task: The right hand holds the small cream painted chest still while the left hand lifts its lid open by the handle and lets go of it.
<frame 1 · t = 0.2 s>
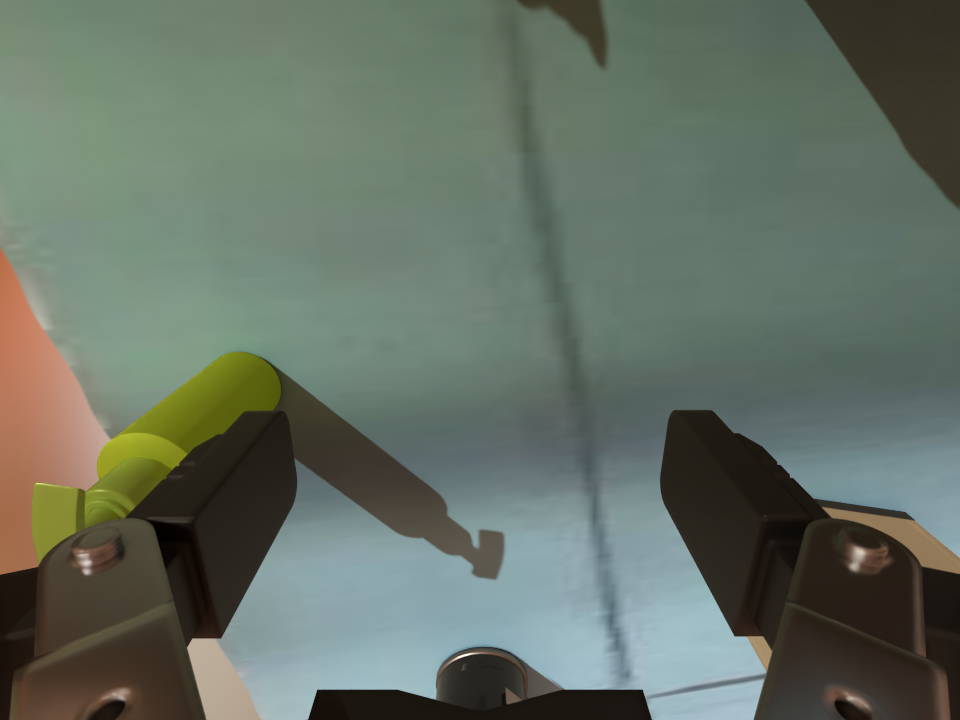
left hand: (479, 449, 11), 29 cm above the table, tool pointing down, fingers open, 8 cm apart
soap dispenser: (245, 378, 42), on the table
chest: (818, 570, 49), on the table
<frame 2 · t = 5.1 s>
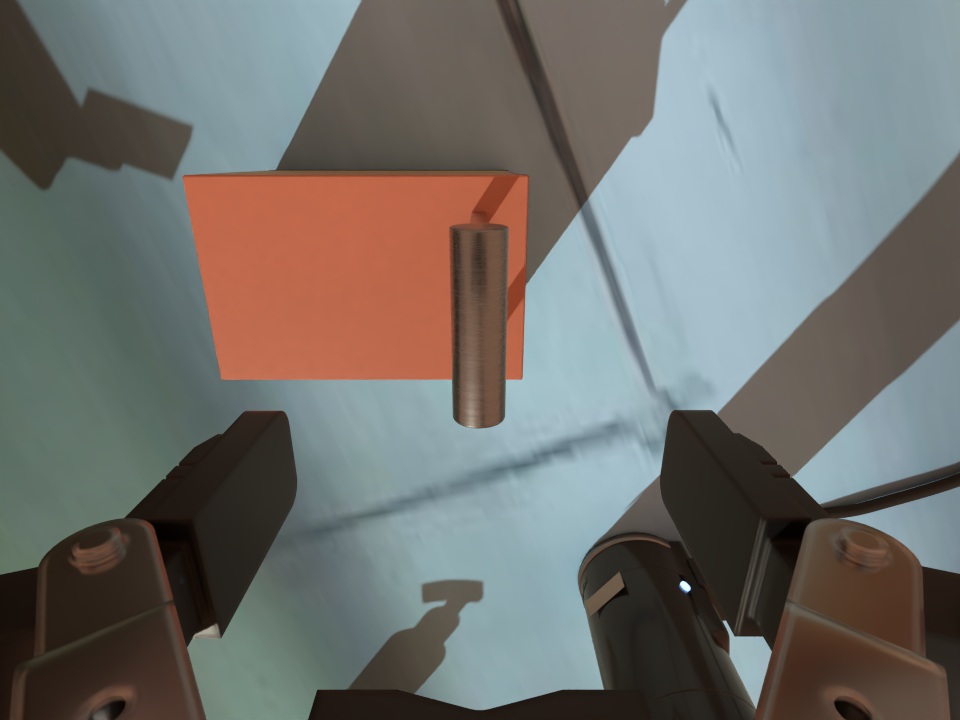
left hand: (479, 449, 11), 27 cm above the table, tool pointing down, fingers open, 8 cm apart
lid: (347, 303, 22), point 15 cm above the table, hinge at 0.0°
chest: (395, 247, 36), on the table
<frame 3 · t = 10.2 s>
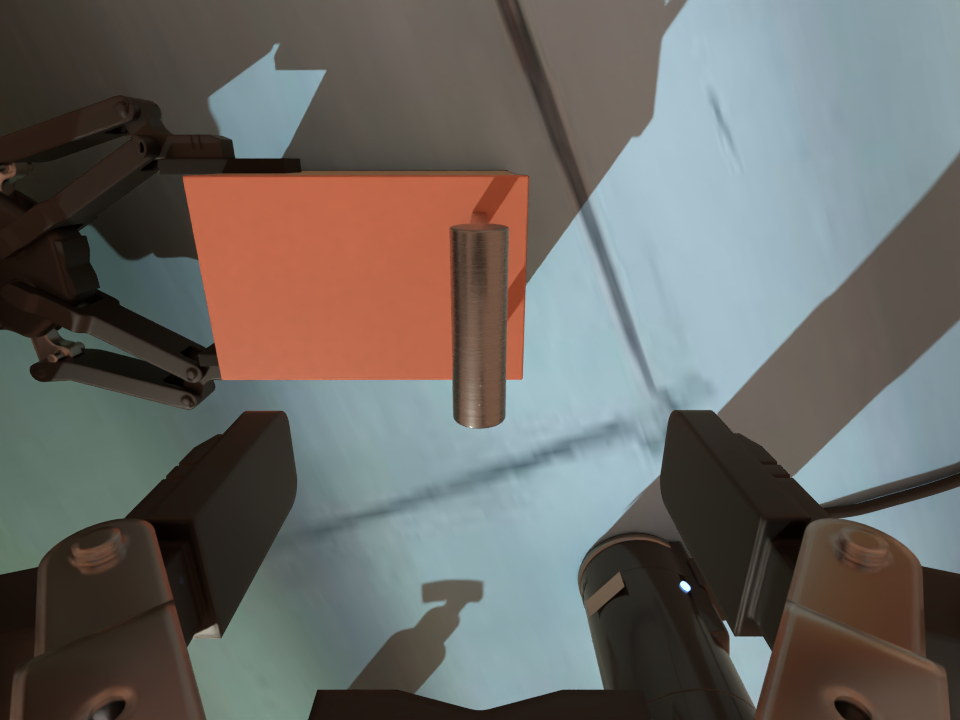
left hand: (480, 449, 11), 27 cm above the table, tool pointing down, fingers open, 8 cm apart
right hand: (304, 265, 30), fingers closed on chest, 10 cm apart
lid: (347, 303, 22), point 15 cm above the table, hinge at 0.0°
chest: (395, 247, 36), on the table, touching right hand
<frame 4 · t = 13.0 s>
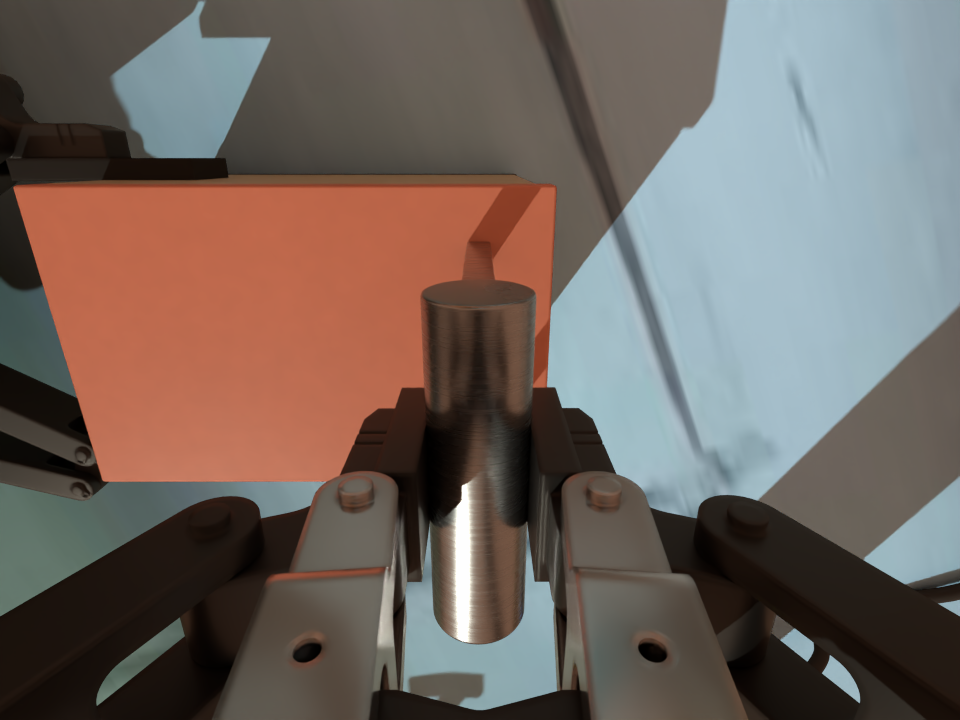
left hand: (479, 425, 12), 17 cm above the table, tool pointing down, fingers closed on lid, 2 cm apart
lid: (264, 394, 14), point 15 cm above the table, hinge at 0.2°, touching left hand
chest: (368, 274, 28), on the table, touching right hand
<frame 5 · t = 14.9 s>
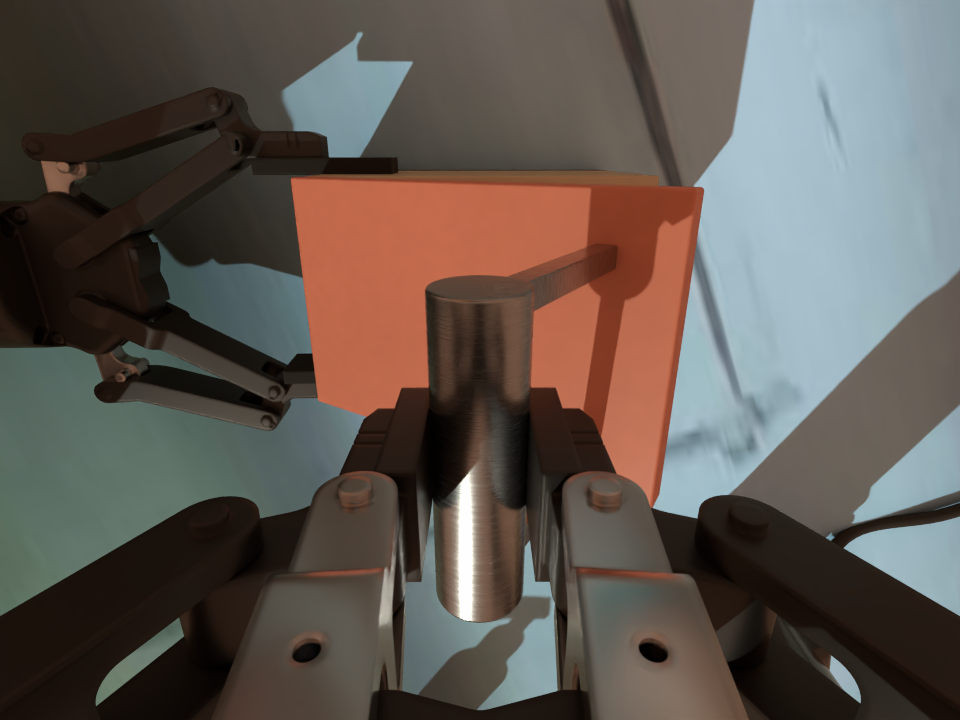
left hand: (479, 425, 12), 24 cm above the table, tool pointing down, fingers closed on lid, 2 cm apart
right hand: (400, 273, 28), fingers closed on chest, 10 cm apart
lid: (388, 354, 16), point 19 cm above the table, hinge at 33.8°, touching left hand
chest: (477, 252, 34), on the table, touching right hand
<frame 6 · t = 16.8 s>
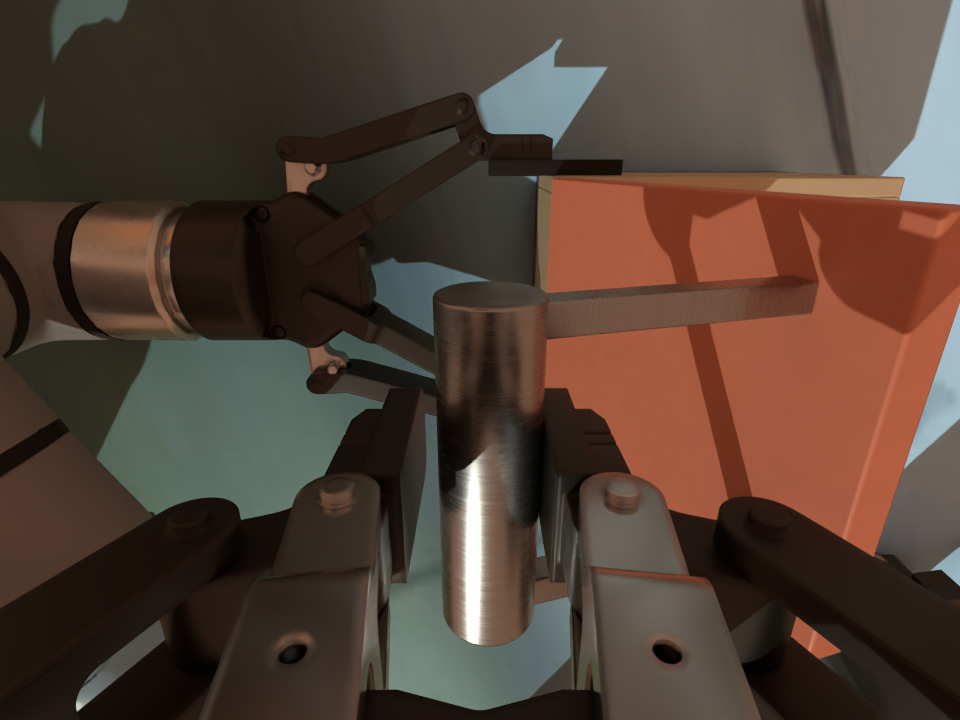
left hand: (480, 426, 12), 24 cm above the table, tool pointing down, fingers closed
right hand: (606, 271, 29), fingers closed on chest, 10 cm apart
lid: (543, 357, 16), point 20 cm above the table, hinge at 73.6°
chest: (648, 252, 35), on the table, touching right hand
when the right hand's fingers open (6 cm above the table, at t = 20.7 s): chest stays where it is, on the table.
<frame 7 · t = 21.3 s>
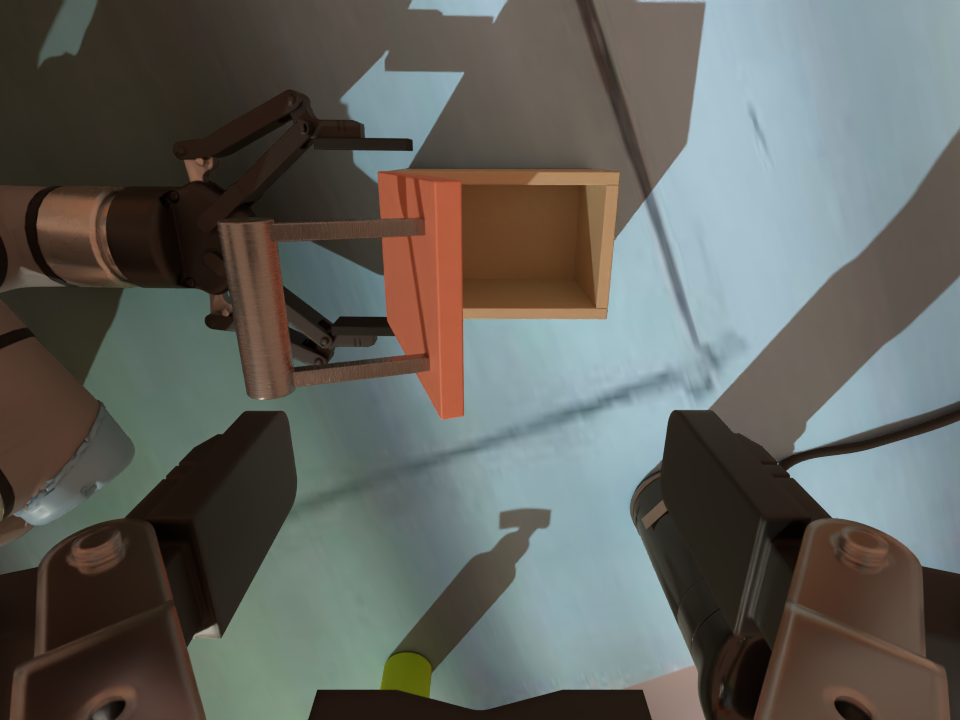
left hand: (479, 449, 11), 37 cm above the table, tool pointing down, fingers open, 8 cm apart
right hand: (414, 241, 40), fingers open, 13 cm apart
lid: (338, 277, 27), point 20 cm above the table, hinge at 71.9°
soap dispenser: (404, 667, 65), on the table
chest: (497, 229, 46), on the table
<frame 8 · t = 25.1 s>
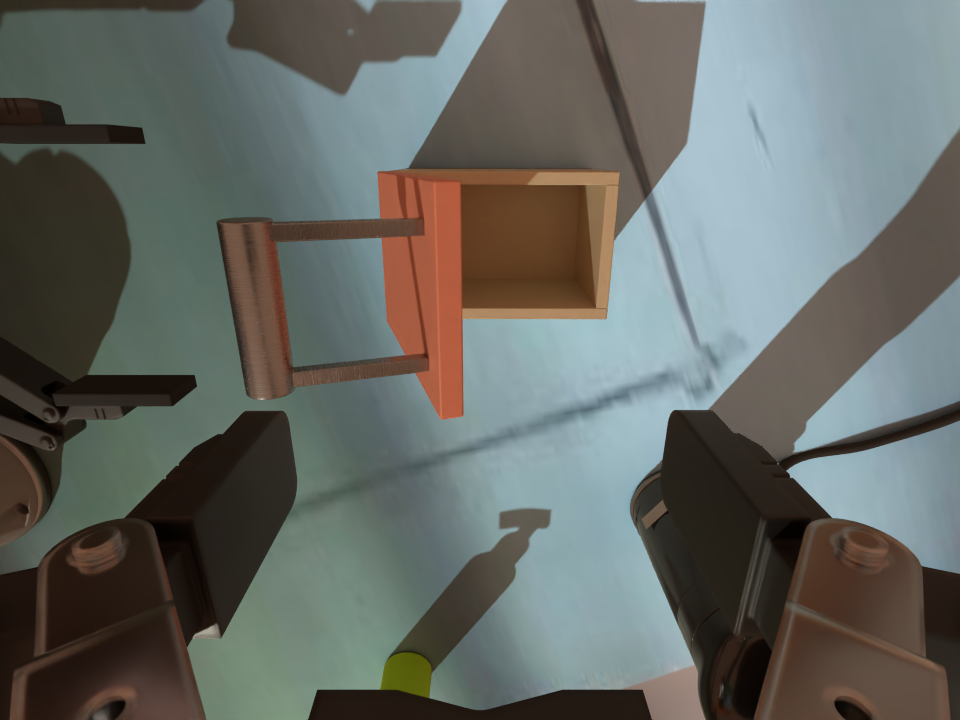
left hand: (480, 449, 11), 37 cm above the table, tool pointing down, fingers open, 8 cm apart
lid: (338, 277, 27), point 20 cm above the table, hinge at 71.9°
soap dispenser: (404, 667, 65), on the table
chest: (497, 229, 46), on the table
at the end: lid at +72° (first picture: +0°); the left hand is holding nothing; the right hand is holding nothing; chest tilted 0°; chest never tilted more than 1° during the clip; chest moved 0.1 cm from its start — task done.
